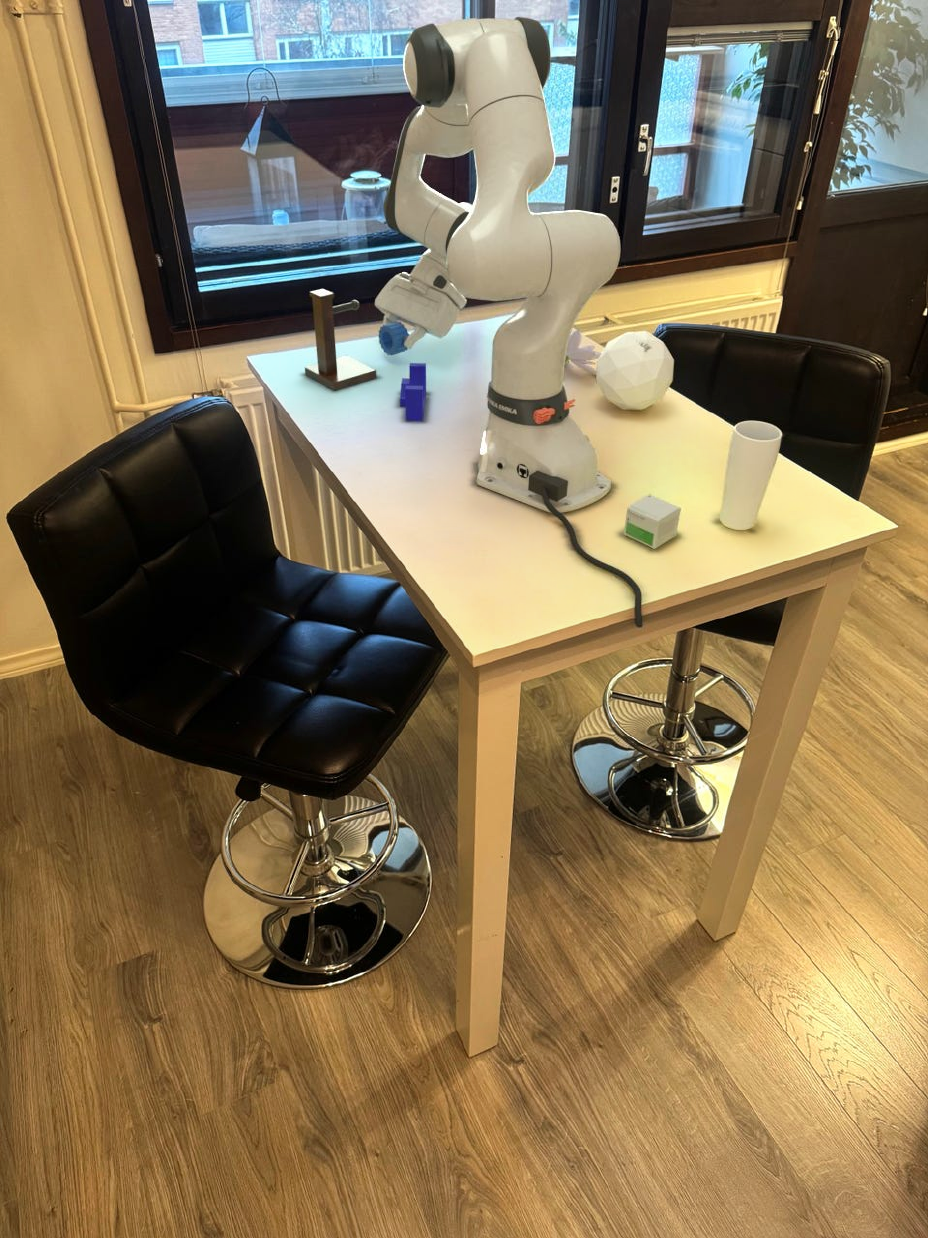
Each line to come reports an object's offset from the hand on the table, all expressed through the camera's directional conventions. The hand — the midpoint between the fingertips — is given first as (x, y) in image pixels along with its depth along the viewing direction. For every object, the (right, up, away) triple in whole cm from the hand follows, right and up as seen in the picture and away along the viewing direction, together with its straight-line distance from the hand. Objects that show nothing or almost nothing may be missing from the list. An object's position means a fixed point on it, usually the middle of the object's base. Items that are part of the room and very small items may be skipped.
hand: (394, 341), depth 182 cm
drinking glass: (+55, -42, -46) cm, 83 cm away
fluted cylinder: (0, -2, +2) cm, 2 cm away
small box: (+41, -44, -50) cm, 78 cm away
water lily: (+36, -7, -2) cm, 37 cm away
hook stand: (-10, -8, -5) cm, 14 cm away
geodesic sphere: (+45, -16, -13) cm, 50 cm away
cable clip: (+5, -17, -15) cm, 23 cm away
